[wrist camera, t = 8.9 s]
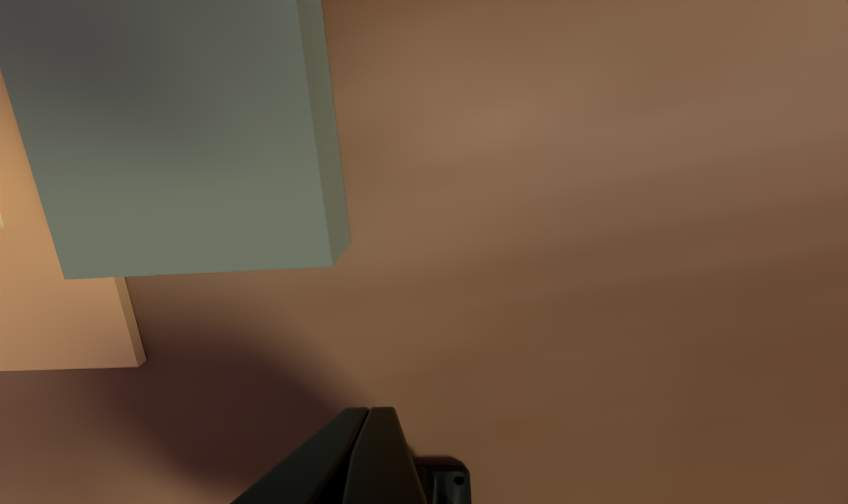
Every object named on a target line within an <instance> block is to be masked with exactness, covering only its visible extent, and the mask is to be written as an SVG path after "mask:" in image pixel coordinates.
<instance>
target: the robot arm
mask: <svg viewBox="0 0 848 504" xmlns="http://www.w3.org/2000/svg"><path fill="white" fill-rule="evenodd" d="M456 476H461V477H463V478H461V479H458V478H455V477H456ZM230 504H472V503H471V486H470V473H469V470H468V469H467V468H466V467H464V466H460V465H430V466H414V463H413V460H412V457H411V454H410V451H409V448H408V445H407V442H406V440H405V437H404V434H403V431H402V428H401V425H400V422H399V419H398V416H397V413H396V410H395V409H394V408H393V407H373V408H371V409H370V410H369V409H368V408H367V407H354V408H345V409H344V410H342V411H341V412H340V413H339V414H338V415H336V416H335V417H334V418H333V419H331V420H330V421H329V422H328V423H327V424H325V425H324V426H323V427H322V428H321V429H319V430H318V431H317V432H316V433H315V434H313V435H312V436H311V437H310V438H309V439H307V440H306V441H305V442H304V443H302V444H301V445H300V446H299V447H298V448H296V449H295V450H294V451H293V452H292V453H290V454H289V455H288V456H287V457H286V458H284V459H283V460H282V461H281V462H280V463H278V464H277V465H276V466H275V467H274V468H272V469H271V470H270V471H269V472H267V473H266V474H265V475H264V476H263V477H261V478H260V479H259V480H258V481H257V482H255V483H254V484H253V485H252V486H251V487H249V488H248V489H247V490H246V491H245V492H243V493H242V494H241V495H240V496H239V497H237V498H236V499H235V500H234V501H232V502H231V503H230Z"/></svg>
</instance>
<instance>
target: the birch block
mask: <svg viewBox="0 0 848 504" xmlns="http://www.w3.org/2000/svg"><path fill="white" fill-rule="evenodd" d="M2 227H4V224H3V221H2V218H1V215H0V228H2Z"/></svg>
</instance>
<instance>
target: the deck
mask: <svg viewBox="0 0 848 504" xmlns="http://www.w3.org/2000/svg"><path fill="white" fill-rule="evenodd" d="M0 69H1V73H2V76H3V79H4V83H5V86H6V89H7V92H8V96H9V99H10V102H11V105H12V109H13V112H14V115H15V119H16V122H17V125H18V128H19V132H20V135H21V138H22V142H23V145H24V148H25V151H26V155H27V158H28V161H29V164H30V168H31V171H32V174H33V178H34V181H35V184H36V187H37V191H38V194H39V197H40V201H41V204H42V207H43V210H44V214H45V217H46V220H47V224H48V227H49V230H50V233H51V237H52V240H53V243H54V246H55V250H56V253H57V256H58V260H59V263H60V266H61V269H62V273H63V276H64V279H65V280H68V279H88V278H109V277H129V276H150V275H171V274H191V273H212V272H232V271H253V270H274V269H294V268H315V267H333V265H334V264H335V263H336V261H337V260H338V259H339V257H340V256H341V255H342V253H343V252H344V251H345V249H346V248H347V247H348V245H349V244H350V243H351V240H350V232H349V224H348V216H347V208H346V200H345V192H344V183H343V175H342V167H341V159H340V151H339V143H338V135H337V127H336V118H335V110H334V102H333V94H332V86H331V78H330V70H329V62H328V53H327V45H326V37H325V29H324V21H323V13H322V5H321V0H0Z"/></svg>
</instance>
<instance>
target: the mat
mask: <svg viewBox="0 0 848 504" xmlns="http://www.w3.org/2000/svg"><path fill="white" fill-rule="evenodd" d="M0 215H1V218H2V221H3V224H4V227H2V228H0V371H23V370H55V369H87V368H119V367H139V366H140V365H141V364H142V363H144V362H145V361H146V357H145V353H144V349H143V345H142V342H141V338H140V334H139V330H138V327H137V323H136V319H135V315H134V312H133V308H132V304H131V300H130V297H129V293H128V289H127V285H126V282H125V278H124V277H109V278H88V279H68V280H65V279H64V276H63V273H62V269H61V266H60V263H59V260H58V256H57V253H56V250H55V246H54V243H53V240H52V237H51V233H50V230H49V227H48V224H47V220H46V217H45V214H44V210H43V207H42V204H41V201H40V197H39V194H38V191H37V187H36V184H35V181H34V178H33V174H32V171H31V168H30V164H29V161H28V158H27V155H26V151H25V148H24V145H23V142H22V138H21V135H20V132H19V128H18V125H17V122H16V119H15V115H14V112H13V109H12V105H11V102H10V99H9V96H8V92H7V89H6V86H5V83H4V79H3V76H2V73H1V69H0Z"/></svg>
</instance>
